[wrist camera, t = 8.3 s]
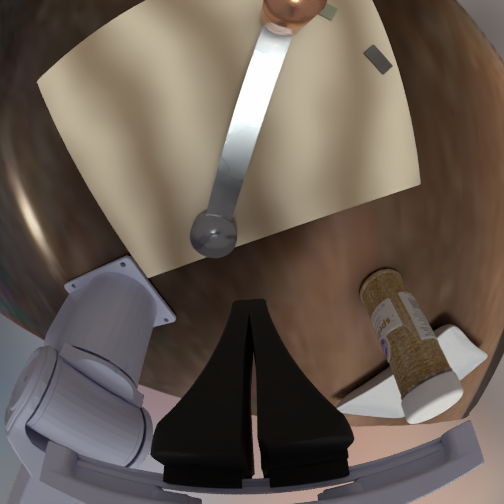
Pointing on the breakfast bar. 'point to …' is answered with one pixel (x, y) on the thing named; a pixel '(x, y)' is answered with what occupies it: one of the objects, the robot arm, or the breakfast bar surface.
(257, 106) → the lever
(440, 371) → the sprinkles bottle
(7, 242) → the breakfast bar surface
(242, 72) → the gauge board
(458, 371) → the salad plate
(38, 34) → the breakfast bar surface
